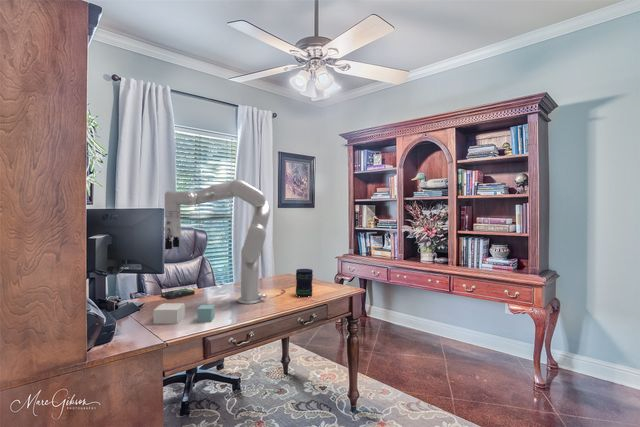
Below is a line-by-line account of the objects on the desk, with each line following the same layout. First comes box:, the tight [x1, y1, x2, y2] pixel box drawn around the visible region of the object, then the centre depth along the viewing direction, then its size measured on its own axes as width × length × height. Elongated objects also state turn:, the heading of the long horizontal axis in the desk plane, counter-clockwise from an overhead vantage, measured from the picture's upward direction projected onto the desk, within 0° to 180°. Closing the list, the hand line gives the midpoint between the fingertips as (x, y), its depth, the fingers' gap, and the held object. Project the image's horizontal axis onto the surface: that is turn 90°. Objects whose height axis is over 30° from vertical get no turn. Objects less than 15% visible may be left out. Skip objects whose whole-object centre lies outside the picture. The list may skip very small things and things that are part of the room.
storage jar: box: [295, 268, 314, 298], centre depth 197 cm, size 10×10×15 cm
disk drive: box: [160, 288, 196, 301], centre depth 192 cm, size 10×3×15 cm
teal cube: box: [196, 304, 216, 323], centre depth 151 cm, size 6×6×6 cm
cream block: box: [152, 302, 186, 325], centre depth 150 cm, size 10×10×6 cm
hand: (172, 248), depth 174 cm, fingers open, 9 cm apart
